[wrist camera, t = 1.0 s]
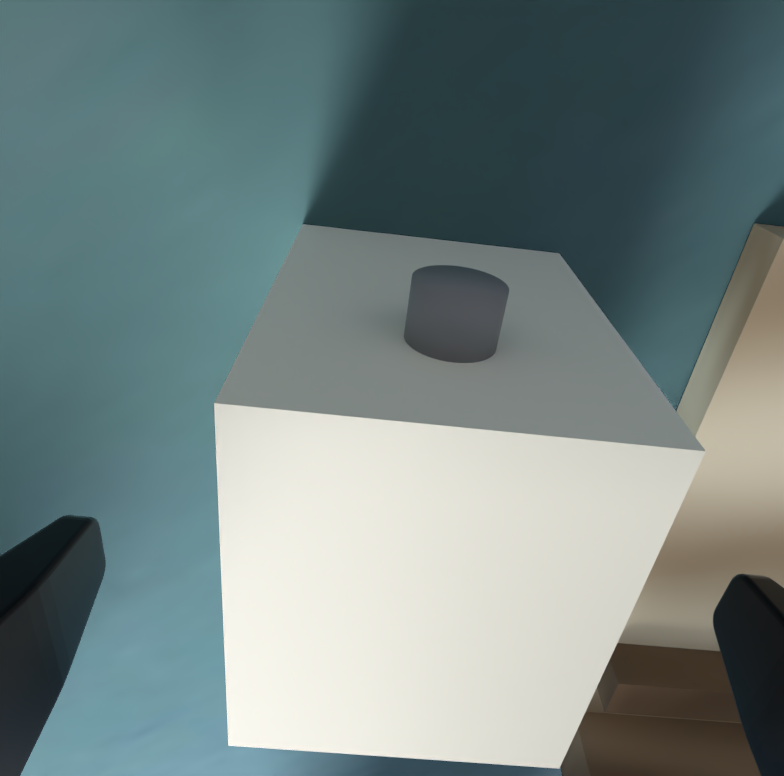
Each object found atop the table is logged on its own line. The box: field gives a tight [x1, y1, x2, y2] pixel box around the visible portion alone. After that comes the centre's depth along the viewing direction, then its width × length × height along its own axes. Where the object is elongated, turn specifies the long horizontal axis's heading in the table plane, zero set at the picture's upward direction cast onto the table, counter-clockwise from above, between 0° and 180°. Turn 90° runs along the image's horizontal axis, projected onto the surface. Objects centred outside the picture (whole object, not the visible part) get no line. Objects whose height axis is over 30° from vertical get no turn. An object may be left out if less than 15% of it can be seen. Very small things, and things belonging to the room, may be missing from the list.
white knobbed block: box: [214, 224, 706, 769], centre depth 10 cm, size 7×5×6 cm
